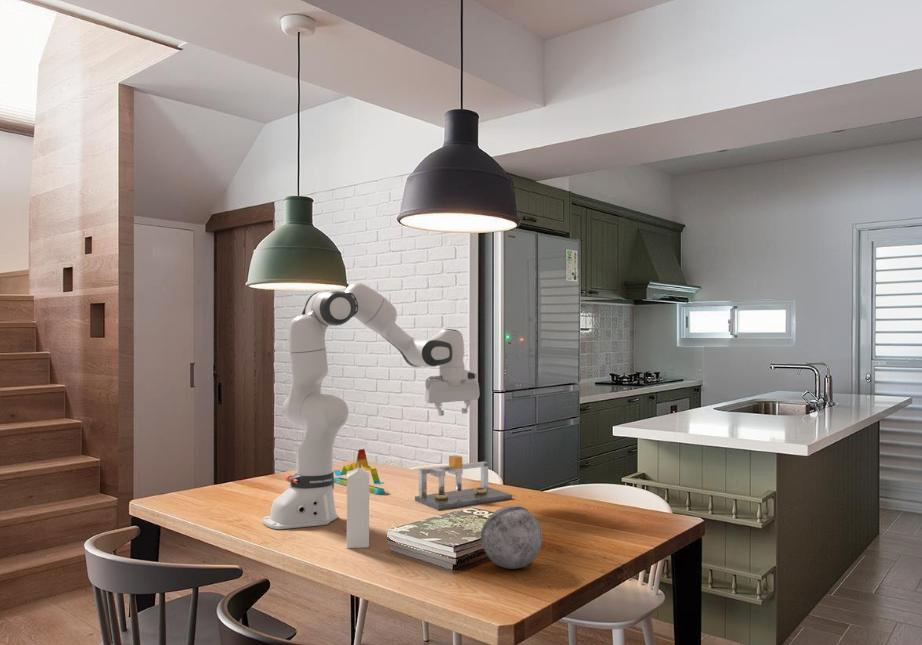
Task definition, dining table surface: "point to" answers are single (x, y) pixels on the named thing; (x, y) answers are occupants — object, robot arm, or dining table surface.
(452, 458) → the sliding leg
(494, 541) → the decorative orb
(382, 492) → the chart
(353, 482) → the milk
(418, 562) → the dining table surface
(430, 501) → the plate
